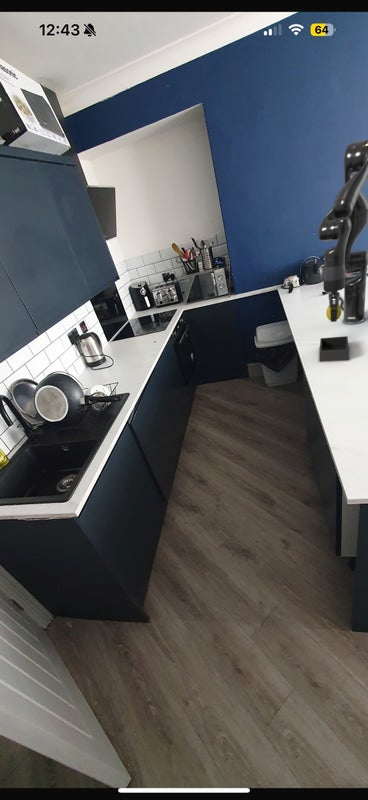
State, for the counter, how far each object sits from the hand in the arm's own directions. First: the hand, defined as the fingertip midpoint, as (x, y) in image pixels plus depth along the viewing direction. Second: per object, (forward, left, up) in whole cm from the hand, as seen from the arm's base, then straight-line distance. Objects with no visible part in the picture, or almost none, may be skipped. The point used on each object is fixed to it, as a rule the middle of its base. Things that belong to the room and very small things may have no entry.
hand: (333, 318), depth 128 cm
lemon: (0, 0, -2) cm, 2 cm away
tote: (0, 0, -16) cm, 16 cm away
